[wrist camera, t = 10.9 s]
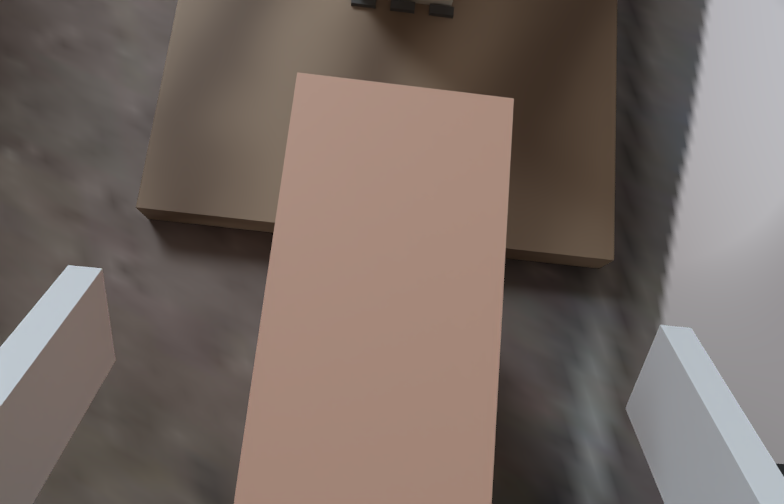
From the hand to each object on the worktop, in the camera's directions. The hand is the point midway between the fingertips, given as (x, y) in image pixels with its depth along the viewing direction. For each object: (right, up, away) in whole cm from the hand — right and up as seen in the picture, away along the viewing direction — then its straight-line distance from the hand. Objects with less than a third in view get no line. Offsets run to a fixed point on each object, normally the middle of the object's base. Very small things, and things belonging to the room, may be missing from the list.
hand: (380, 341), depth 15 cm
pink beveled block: (-1, -1, +7) cm, 7 cm away
